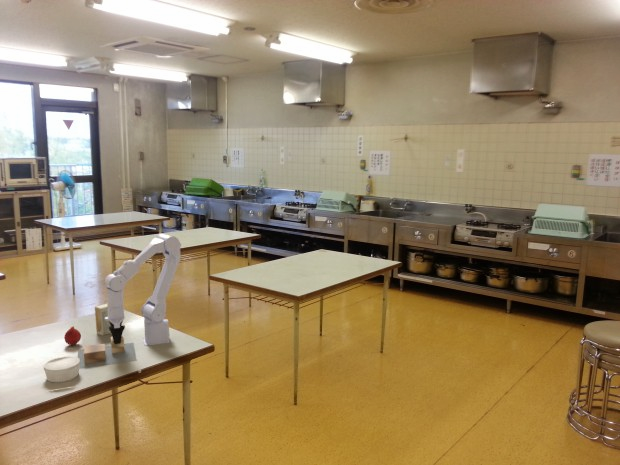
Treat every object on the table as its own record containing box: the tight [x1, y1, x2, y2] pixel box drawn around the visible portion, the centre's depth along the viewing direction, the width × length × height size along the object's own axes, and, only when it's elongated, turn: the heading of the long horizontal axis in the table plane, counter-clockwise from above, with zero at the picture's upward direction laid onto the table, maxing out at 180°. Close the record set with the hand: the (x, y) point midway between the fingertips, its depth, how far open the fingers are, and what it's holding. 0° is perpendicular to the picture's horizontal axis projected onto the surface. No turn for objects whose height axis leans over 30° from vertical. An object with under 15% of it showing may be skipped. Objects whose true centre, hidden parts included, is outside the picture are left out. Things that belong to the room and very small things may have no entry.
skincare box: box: [94, 302, 112, 336], centre depth 204 cm, size 6×4×12 cm
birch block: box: [110, 334, 125, 353], centre depth 186 cm, size 4×4×5 cm
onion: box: [64, 325, 82, 347], centre depth 191 cm, size 6×6×8 cm
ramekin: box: [43, 356, 80, 383], centre depth 165 cm, size 11×11×5 cm
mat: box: [77, 342, 138, 370], centre depth 182 cm, size 20×18×1 cm
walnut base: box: [83, 343, 106, 364], centre depth 179 cm, size 7×7×4 cm
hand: (117, 339), depth 186 cm, fingers open, 7 cm apart
